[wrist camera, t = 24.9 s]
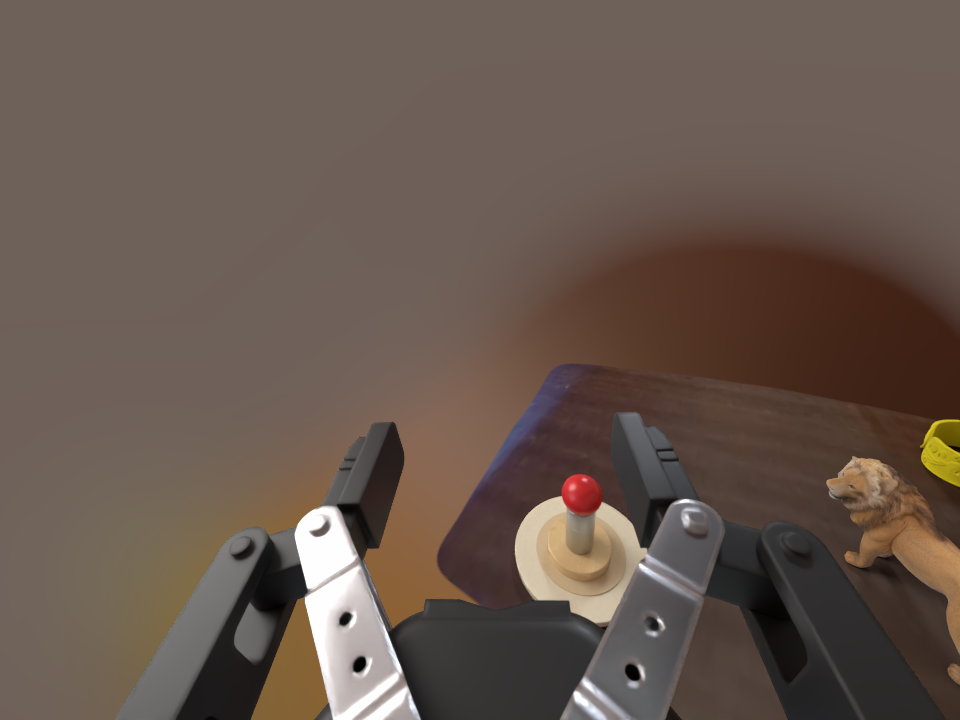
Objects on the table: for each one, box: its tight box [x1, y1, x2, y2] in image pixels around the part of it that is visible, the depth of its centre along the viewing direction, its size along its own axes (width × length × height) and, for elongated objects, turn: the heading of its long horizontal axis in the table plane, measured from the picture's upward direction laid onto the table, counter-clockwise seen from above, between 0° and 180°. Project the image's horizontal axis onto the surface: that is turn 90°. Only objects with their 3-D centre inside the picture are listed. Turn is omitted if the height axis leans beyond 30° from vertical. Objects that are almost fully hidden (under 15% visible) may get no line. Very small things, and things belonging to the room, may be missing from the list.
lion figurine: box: [827, 456, 960, 685], centre depth 27 cm, size 15×5×9 cm, turn 10°
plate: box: [515, 496, 647, 627], centre depth 34 cm, size 12×12×1 cm
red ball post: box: [548, 474, 612, 581], centre depth 32 cm, size 6×6×9 cm
